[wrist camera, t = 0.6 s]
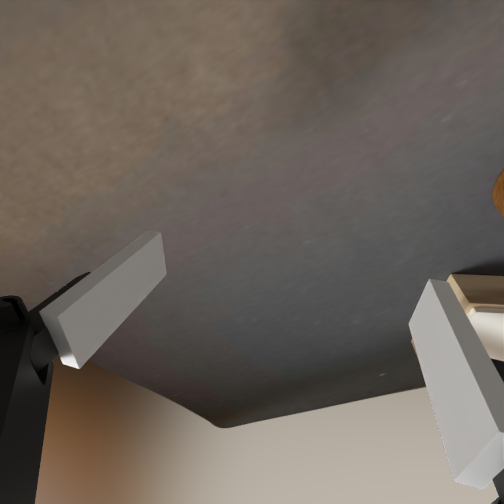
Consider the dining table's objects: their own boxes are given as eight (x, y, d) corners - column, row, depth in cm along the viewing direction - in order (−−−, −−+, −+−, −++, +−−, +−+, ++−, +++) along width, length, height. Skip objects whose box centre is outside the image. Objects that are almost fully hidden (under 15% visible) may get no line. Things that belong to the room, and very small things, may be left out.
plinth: (450, 273, 26) (472, 307, 23) (580, 279, 25) (620, 315, 22) (411, 341, 33) (424, 374, 30) (511, 347, 32) (535, 381, 29)
